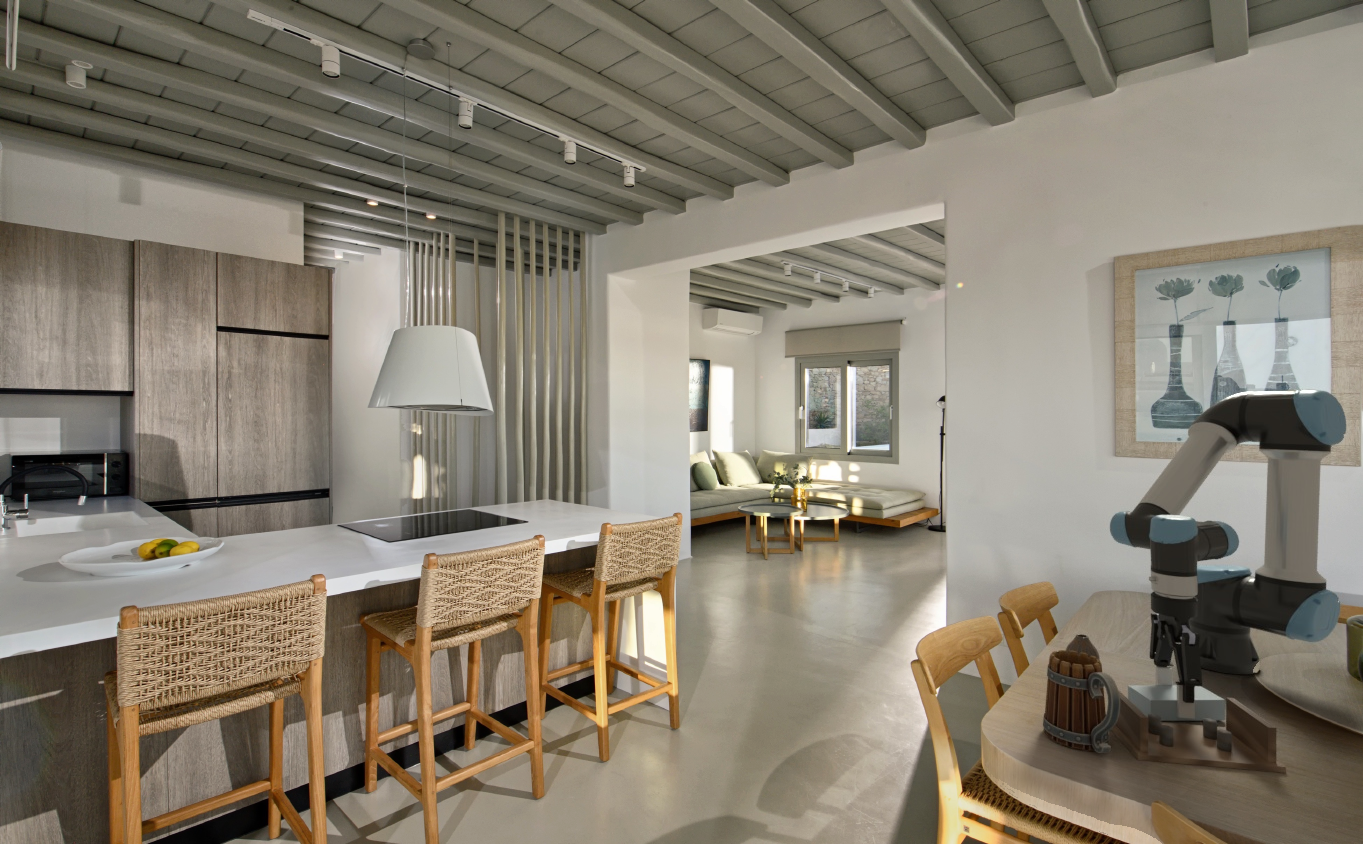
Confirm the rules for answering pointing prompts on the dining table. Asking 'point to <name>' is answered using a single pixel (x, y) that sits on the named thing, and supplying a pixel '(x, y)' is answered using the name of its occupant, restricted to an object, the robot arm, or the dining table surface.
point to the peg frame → (1201, 739)
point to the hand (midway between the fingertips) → (1174, 707)
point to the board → (1175, 702)
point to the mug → (1079, 702)
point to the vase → (1083, 646)
